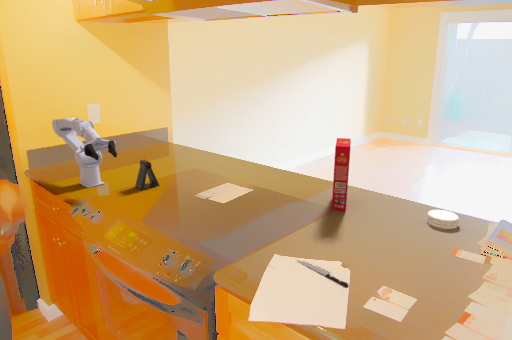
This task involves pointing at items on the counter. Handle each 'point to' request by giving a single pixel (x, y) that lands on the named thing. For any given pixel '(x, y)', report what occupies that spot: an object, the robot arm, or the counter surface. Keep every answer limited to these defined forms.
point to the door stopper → (143, 171)
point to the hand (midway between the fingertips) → (107, 156)
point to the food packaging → (341, 174)
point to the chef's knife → (323, 273)
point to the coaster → (443, 219)
